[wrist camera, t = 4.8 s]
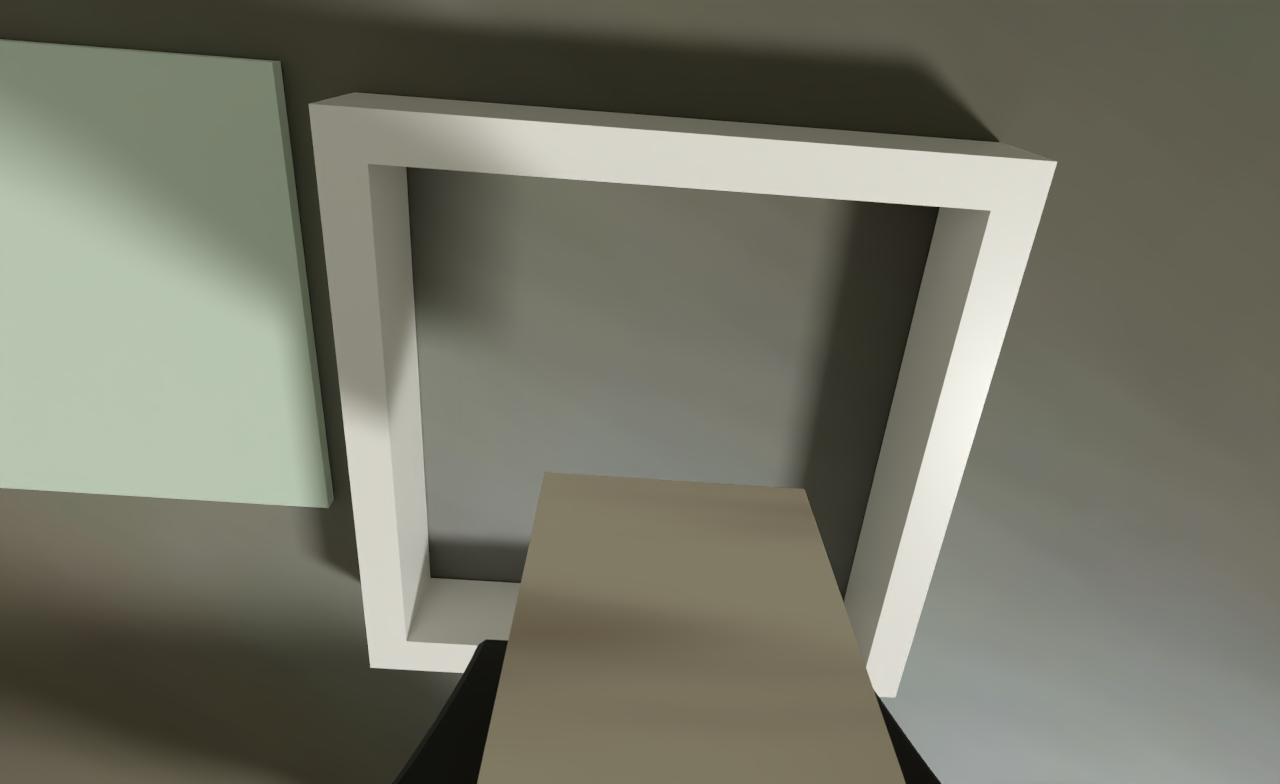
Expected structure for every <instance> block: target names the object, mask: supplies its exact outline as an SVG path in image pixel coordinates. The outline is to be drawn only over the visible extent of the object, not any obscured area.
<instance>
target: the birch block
mask: <svg viewBox="0 0 1280 784" xmlns="http://www.w3.org/2000/svg"><path fill="white" fill-rule="evenodd" d="M477 784H906V783H905V780H904V777H903V774H902V771H901V768H900V765H899V762H898V759H897V757H896V754H895V751H894V748H893V745H892V742H891V739H890V736H889V733H888V730H887V728H886V725H885V722H884V719H883V716H882V713H881V710H880V707H879V704H878V701H877V698H876V696H875V693H874V690H873V687H872V684H871V681H870V678H869V675H868V672H867V669H866V666H865V664H864V661H863V658H862V655H861V652H860V649H859V646H858V643H857V640H856V637H855V635H854V632H853V629H852V626H851V623H850V620H849V617H848V614H847V611H846V608H845V605H844V603H843V600H842V597H841V594H840V591H839V588H838V585H837V582H836V579H835V576H834V573H833V571H832V568H831V565H830V562H829V559H828V556H827V553H826V550H825V547H824V544H823V541H822V539H821V536H820V533H819V530H818V527H817V524H816V521H815V518H814V515H813V512H812V510H811V507H810V504H809V501H808V498H807V495H806V492H805V489H797V488H782V487H766V486H751V485H735V484H720V483H704V482H688V481H673V480H657V479H642V478H626V477H611V476H595V475H579V474H564V473H548V472H545V474H544V479H543V484H542V488H541V493H540V497H539V502H538V507H537V511H536V516H535V520H534V525H533V529H532V534H531V539H530V543H529V548H528V552H527V557H526V562H525V566H524V571H523V575H522V580H521V584H520V589H519V594H518V598H517V603H516V607H515V612H514V617H513V621H512V626H511V630H510V635H509V639H508V644H507V649H506V653H505V658H504V662H503V667H502V672H501V676H500V681H499V685H498V690H497V694H496V699H495V704H494V708H493V713H492V717H491V722H490V726H489V731H488V736H487V740H486V745H485V749H484V754H483V759H482V763H481V768H480V772H479V777H478V781H477Z"/></svg>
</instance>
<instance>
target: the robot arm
mask: <svg viewBox="0 0 1280 784" xmlns="http://www.w3.org/2000/svg"><path fill="white" fill-rule="evenodd" d="M507 644H508V640H490V639H486V640H484V641H483V642H481V643H480V644H479V645H478V646H477V648H476V650H475V652H474V654H473V656H472V658H471V660H470V662H469V664H468V666H467V668H466V670H465V672H464V673H463V675H462V677H461V679H460V681H459V682H458V684H457V686H456V688H455V689H454V691H453V693H452V694H451V696H450V698H449V699H448V701H447V703H446V704H445V706H444V707H443V709H442V711H441V712H440V714H439V716H438V717H437V719H436V720H435V722H434V723H433V725H432V726H431V728H430V729H429V731H428V732H427V734H426V735H425V737H424V738H423V740H422V741H421V743H420V744H419V746H418V747H417V749H416V750H415V752H414V753H413V755H412V756H411V758H410V759H409V761H408V762H407V764H406V765H405V767H404V768H403V769H402V771H401V772H400V774H399V775H398V777H397V778H396V779H395V781H394V782H393V783H392V784H477V781H478V777H479V772H480V768H481V763H482V759H483V754H484V749H485V745H486V740H487V736H488V731H489V726H490V722H491V717H492V713H493V708H494V704H495V699H496V694H497V690H498V685H499V681H500V676H501V672H502V667H503V662H504V658H505V653H506V649H507ZM873 690H874V689H873ZM874 693H875V696H876V698H877V701H878V704H879V707H880V710H881V713H882V716H883V719H884V722H885V725H886V728H887V730H888V733H889V736H890V739H891V742H892V745H893V748H894V751H895V754H896V757H897V759H898V762H899V765H900V768H901V771H902V774H903V777H904V780H905V783H906V784H941V783H940V781H939V780H938V779H937V777H936V776H935V775H934V773H933V772H932V771H931V769H930V768H929V767H928V766H927V764H926V763H925V761H924V760H923V759H922V757H921V756H920V755H919V753H918V752H917V750H916V749H915V748H914V746H913V745H912V744H911V742H910V741H909V739H908V738H907V737H906V735H905V734H904V732H903V731H902V729H901V728H900V727H899V725H898V724H897V722H896V721H895V720H894V718H893V717H892V715H891V714H890V712H889V711H888V709H887V708H886V707H885V705H884V704H883V702H882V701H881V699H880V698H879V696H878V695H877V693H876V692H875V690H874Z"/></svg>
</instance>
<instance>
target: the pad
mask: <svg viewBox="0 0 1280 784" xmlns="http://www.w3.org/2000/svg"><path fill="white" fill-rule="evenodd" d="M0 488H14V489H30V490H46V491H62V492H78V493H94V494H110V495H126V496H142V497H158V498H174V499H190V500H206V501H222V502H238V503H254V504H270V505H286V506H302V507H318V508H329V507H330V505H331V504H332V502H333V500H334V496H333V488H332V479H331V471H330V463H329V455H328V447H327V439H326V430H325V422H324V414H323V406H322V398H321V389H320V381H319V373H318V365H317V357H316V348H315V340H314V332H313V324H312V316H311V307H310V299H309V291H308V283H307V275H306V267H305V258H304V250H303V242H302V234H301V226H300V217H299V209H298V201H297V193H296V185H295V176H294V168H293V160H292V152H291V144H290V135H289V127H288V119H287V111H286V103H285V95H284V86H283V78H282V70H281V62H280V61H271V60H258V59H246V58H233V57H220V56H207V55H195V54H182V53H169V52H157V51H144V50H131V49H118V48H106V47H93V46H80V45H67V44H55V43H42V42H29V41H17V40H4V39H0Z"/></svg>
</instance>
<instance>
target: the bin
mask: <svg viewBox="0 0 1280 784" xmlns="http://www.w3.org/2000/svg"><path fill="white" fill-rule="evenodd" d="M309 114H310V123H311V132H312V141H313V150H314V159H315V168H316V177H317V186H318V196H319V205H320V214H321V223H322V232H323V241H324V250H325V259H326V268H327V277H328V287H329V296H330V305H331V314H332V323H333V332H334V341H335V350H336V359H337V368H338V378H339V387H340V396H341V405H342V414H343V423H344V432H345V441H346V450H347V460H348V469H349V478H350V487H351V496H352V505H353V514H354V523H355V532H356V541H357V551H358V560H359V569H360V578H361V587H362V596H363V605H364V614H365V623H366V633H367V642H368V651H369V660H370V668H383V669H401V670H419V671H436V672H454V673H464V672H465V670H466V668H467V666H468V664H469V662H470V660H471V658H472V656H473V654H474V652H475V650H476V648H477V646H478V645H479V644H480V643H481V642H483V641H484V640H486V639H490V640H508V639H509V635H510V630H511V626H512V621H513V617H514V612H515V607H516V603H517V598H518V594H519V589H520V584H521V583H509V582H492V581H475V580H459V579H442V578H430V561H429V544H428V527H427V510H426V493H425V476H424V459H423V443H422V426H421V409H420V392H419V375H418V358H417V341H416V324H415V307H414V291H413V274H412V257H411V240H410V223H409V206H408V189H407V172H406V167H416V168H429V169H442V170H456V171H469V172H482V173H496V174H509V175H522V176H535V177H549V178H562V179H575V180H589V181H602V182H615V183H629V184H642V185H655V186H669V187H682V188H695V189H709V190H722V191H735V192H749V193H762V194H775V195H788V196H802V197H815V198H828V199H842V200H855V201H868V202H882V203H895V204H908V205H922V206H935V207H940V208H939V213H938V217H937V221H936V225H935V229H934V233H933V237H932V241H931V245H930V249H929V254H928V258H927V262H926V266H925V270H924V274H923V278H922V282H921V286H920V291H919V295H918V299H917V303H916V307H915V311H914V315H913V319H912V323H911V328H910V332H909V336H908V340H907V344H906V348H905V352H904V356H903V360H902V364H901V369H900V373H899V377H898V381H897V385H896V389H895V393H894V397H893V401H892V406H891V410H890V414H889V418H888V422H887V426H886V430H885V434H884V438H883V443H882V447H881V451H880V455H879V459H878V463H877V467H876V471H875V475H874V480H873V484H872V488H871V492H870V496H869V500H868V504H867V508H866V512H865V516H864V521H863V525H862V529H861V533H860V537H859V541H858V545H857V549H856V553H855V558H854V562H853V566H852V570H851V574H850V578H849V582H848V586H847V590H846V595H845V599H844V605H845V608H846V611H847V614H848V617H849V620H850V623H851V626H852V629H853V632H854V635H855V637H856V640H857V643H858V646H859V649H860V652H861V655H862V658H863V661H864V664H865V666H866V669H867V672H868V675H869V678H870V681H871V684H872V687H873V689H874V690H875V692H876V693H877V695H878V696H879V697H896V693H897V690H898V687H899V683H900V680H901V677H902V674H903V670H904V667H905V664H906V660H907V657H908V654H909V650H910V647H911V644H912V640H913V637H914V634H915V631H916V627H917V624H918V621H919V617H920V614H921V611H922V607H923V604H924V601H925V598H926V594H927V591H928V588H929V584H930V581H931V578H932V574H933V571H934V568H935V564H936V561H937V558H938V555H939V551H940V548H941V545H942V541H943V538H944V535H945V531H946V528H947V525H948V522H949V518H950V515H951V512H952V508H953V505H954V502H955V498H956V495H957V492H958V488H959V485H960V482H961V479H962V475H963V472H964V469H965V465H966V462H967V459H968V455H969V452H970V449H971V446H972V442H973V439H974V436H975V432H976V429H977V426H978V422H979V419H980V416H981V412H982V409H983V406H984V403H985V399H986V396H987V393H988V389H989V386H990V383H991V379H992V376H993V373H994V370H995V366H996V363H997V360H998V356H999V353H1000V350H1001V346H1002V343H1003V340H1004V336H1005V333H1006V330H1007V327H1008V323H1009V320H1010V317H1011V313H1012V310H1013V307H1014V303H1015V300H1016V297H1017V294H1018V290H1019V287H1020V284H1021V280H1022V277H1023V274H1024V270H1025V267H1026V264H1027V260H1028V257H1029V254H1030V251H1031V247H1032V244H1033V241H1034V237H1035V234H1036V231H1037V227H1038V224H1039V221H1040V217H1041V214H1042V211H1043V208H1044V204H1045V201H1046V198H1047V194H1048V191H1049V188H1050V184H1051V181H1052V178H1053V175H1054V171H1055V168H1056V165H1057V161H1054V160H1051V159H1048V158H1045V157H1042V156H1040V155H1037V154H1034V153H1031V152H1028V151H1025V150H1022V149H1019V148H1016V147H1013V146H1010V145H1007V144H1004V143H1001V142H988V141H975V140H962V139H949V138H936V137H923V136H910V135H898V134H885V133H872V132H859V131H846V130H833V129H820V128H807V127H795V126H782V125H769V124H756V123H743V122H730V121H717V120H705V119H692V118H679V117H666V116H653V115H640V114H627V113H614V112H602V111H589V110H576V109H563V108H550V107H537V106H524V105H511V104H499V103H486V102H473V101H460V100H447V99H434V98H421V97H408V96H396V95H383V94H370V93H357V92H354V93H350V94H346V95H342V96H338V97H334V98H330V99H326V100H322V101H318V102H314V103H310V104H309Z"/></svg>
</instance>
